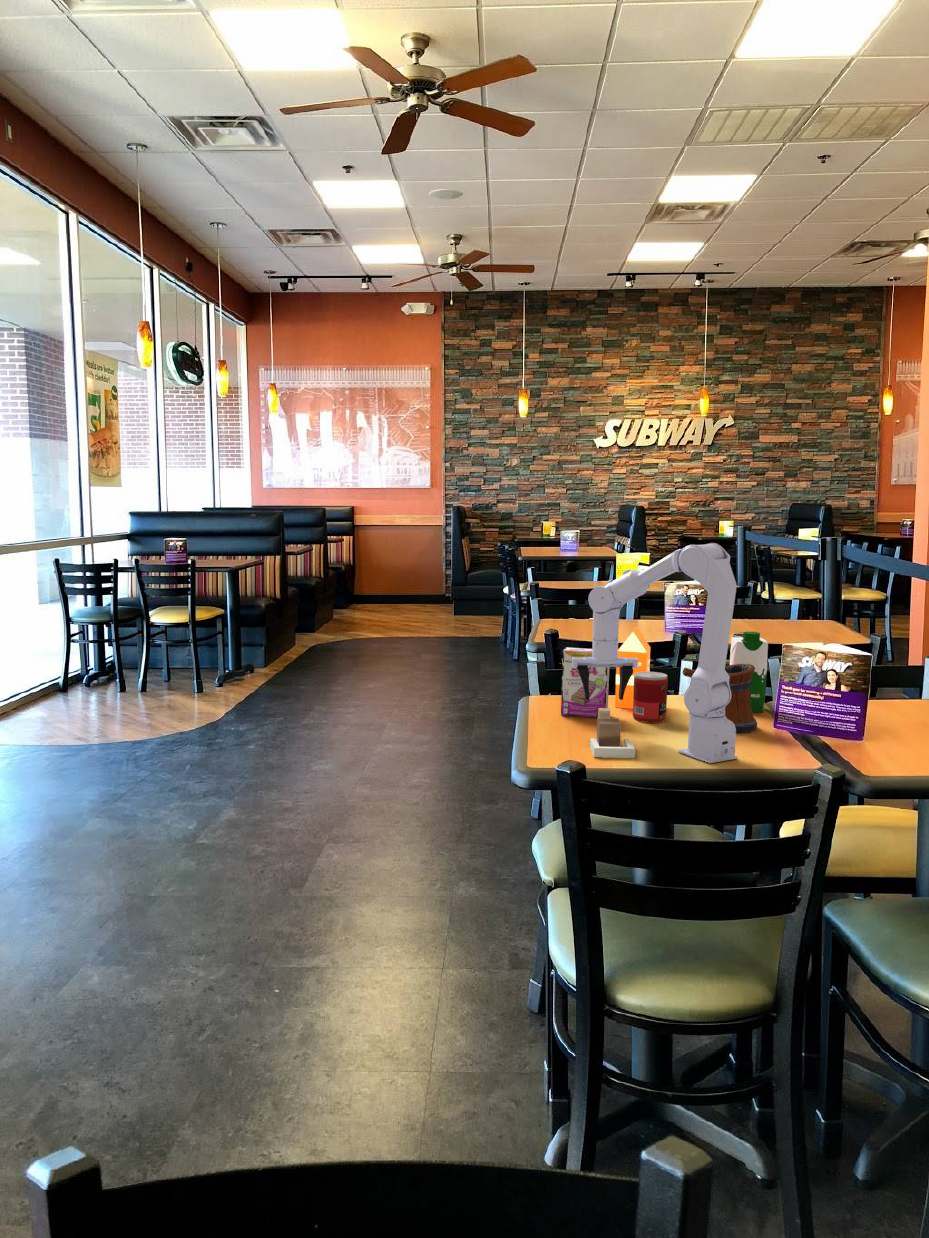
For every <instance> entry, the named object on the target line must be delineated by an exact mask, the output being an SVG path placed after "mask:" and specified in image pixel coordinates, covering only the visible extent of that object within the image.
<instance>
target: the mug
mask: <svg viewBox="0 0 929 1238" xmlns="http://www.w3.org/2000/svg"><path fill="white" fill-rule="evenodd" d="M754 670H755V667H754V666H753V665H751V664H734V665H730V664H729V665H727V666H726V665H725V671H726V672H727V674H728V675H729V677H730V679H729V686H730V690H731V700H730V702H729V704H728V705H727V706H725V716H726V718H727V719H728V720H730V721H732V722H733V723H734V725H735V728H736V733H752V732H754V731H755V730H757V728H758V721H757V719H756V718H755V717H754V712H752V709H751V704H750V687H751V685H752V680H751V679H752V675H753V673H754ZM695 671H696V669H691V668H689V667H684V668H683V669H682V675H683V676H684V677H687V678H690V679H691V677H692V676H693V674H694V672H695Z"/></svg>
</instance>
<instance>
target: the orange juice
mask: <svg viewBox="0 0 929 1238" xmlns="http://www.w3.org/2000/svg"><path fill="white" fill-rule="evenodd" d="M651 648H652V647H651V646H650V645H649V643H648V642H647V640H646V638H645V637H644V636H643V634H642V632H641V631H640V629H639V628H638V626H635V627H634V628H633V629H632V632H631V633H630V634H629V635H628V637H627V638H626V640H625V641H624V642H623V643H622V644H621V646H620V647H618V657H623V658H637V659H638V668H633V674H632V676H631V677H630V679H629V681H628V684H627V686H626V689H625V692H624V697H623V700H620V699H619V685H620V671H619V668H620V667H615V669H616V670H615V698H614V699H615V701H614V704H615V706H614V708H620V709H630V710H631V709H632V710H633V690H634V674H635V673H637V672H651V671H650V670H651V669H650V666H651V665H650V664H651V663H650V662H651Z"/></svg>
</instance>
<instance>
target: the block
mask: <svg viewBox="0 0 929 1238" xmlns="http://www.w3.org/2000/svg"><path fill="white" fill-rule="evenodd" d="M621 724H622V723H621V721H620V720H619V718H616V717H615V718H614V717H613V718H612V717H611V710H610V708H609V707H608V708H598V718H596V740H597V742H598V744H599V747H621V726H622V725H621Z"/></svg>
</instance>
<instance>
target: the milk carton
mask: <svg viewBox="0 0 929 1238" xmlns="http://www.w3.org/2000/svg"><path fill="white" fill-rule="evenodd" d="M768 650H769V642H768V641H767V640H766V639H765V638H762V637H761V633H760V632H757V631H743V636H742V637H740V636H739V637H738V636H737V637H736V636H734V637H733V636H732V637H731V643H730V651H729V652H730V654H729V665H734V664H751V665H753V666H754V667H755V670H754V673H753V675H752V679H751V680H752V685H751V687H750V704H751V709H752V712H753V713H761V714H763V713H764V706H765V702H766V701H765V699H766V690H767V677H768V676H767V672H768Z"/></svg>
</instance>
